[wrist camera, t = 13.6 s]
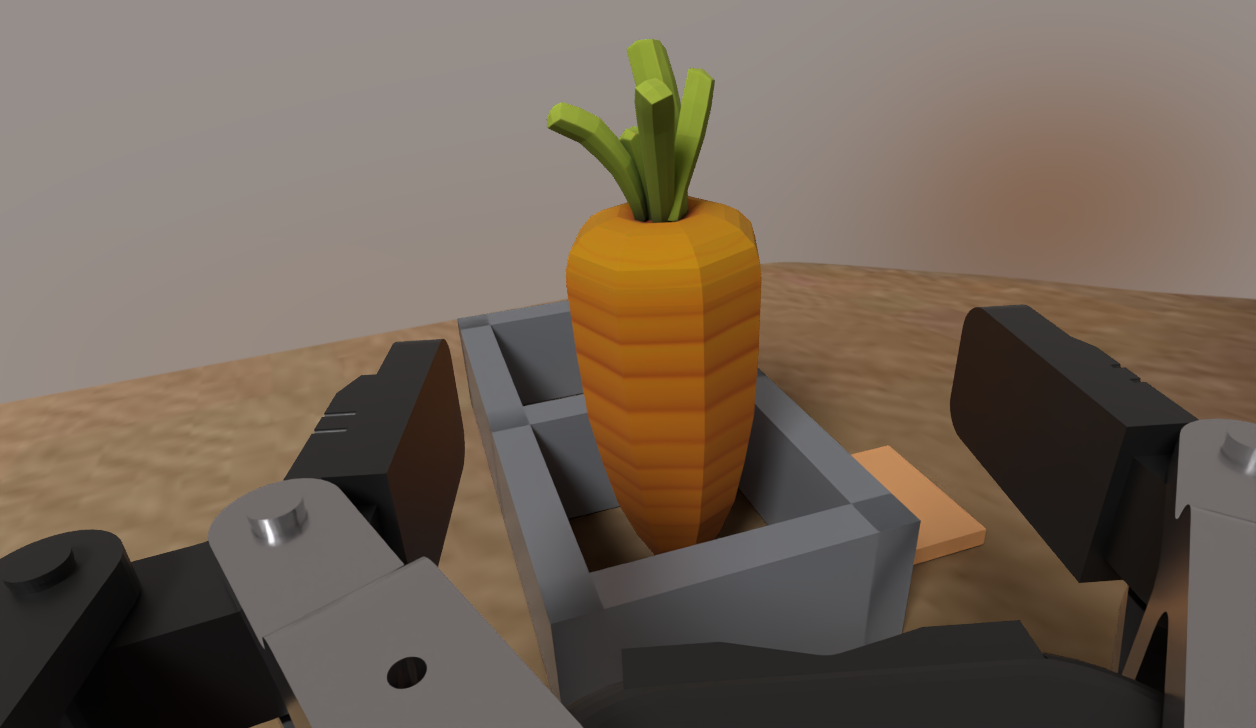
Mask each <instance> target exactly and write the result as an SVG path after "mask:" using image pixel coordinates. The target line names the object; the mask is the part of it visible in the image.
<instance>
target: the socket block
mask: <svg viewBox="0 0 1256 728" xmlns="http://www.w3.org/2000/svg"><path fill="white" fill-rule="evenodd" d="M457 321H458V327H459V333H460V339H461V345H462V351H463V357H464V362H465V368H466V374H467V380H468V386H469V392H470V398H471V403H472V407H473V410H474V414H475V417H476V421H477V425H478V428H479V432H480V435H481V439H482V443H483V446H484V450H485V453H486V457H487V461H488V464H489V468H490V471H491V475H492V479H493V482H494V486H495V489H496V493H497V497H498V500H499V504H500V507H501V511H502V515H503V518H504V522H505V525H506V529H507V533H508V536H509V540H510V543H511V547H512V551H513V554H514V558H515V561H516V565H517V568H518V572H519V576H520V579H521V583H522V586H523V590H524V594H525V597H526V601H527V604H528V608H529V612H530V615H531V619H532V622H533V626H534V630H535V633H536V637H537V640H538V644H539V648H540V651H541V655H542V658H543V662H544V666H545V669H546V673H547V676H548V680H549V684H550V687H551V691H552V694H553V695H554V696H555V697H556V698H557V699H558V700H559V701H560V702H561V704H562V705H563V706H564V707H565V706H567V705H568V704H570V703H572V702H573V701H575V700H577V699H579V698H580V697H582V696H584V695H587V694H589V693H591V692H594V691H596V690H598V689H600V688H603V687H605V686H608V685H611V684H614V683H617V682H620V681H623V669H622V650H621V649H625V648H639V647H653V646H667V645H681V644H695V643H709V642H726V643H733V644H741V645H748V646H756V647H763V648H771V649H778V650H785V651H793V652H800V653H808V654H815V655H834V654H839V653H842V652H845V651H849V650H852V649H855V648H858V647H861V646H865V645H868V644H871V643H874V642H877V641H880V640H884V639H887V638H890V637H893V636H896V635H900V634H902V629H903V623H904V618H905V612H906V606H907V600H908V594H909V588H910V582H911V576H912V570H913V565H915V564H918V563H921V562H925V561H928V560H931V559H935V558H938V557H942V556H945V555H948V554H952V553H955V552H958V551H962V550H965V549H969V548H972V547H975V546H979V545H982V544H983V543H984V539H985V534H986V530H987V529H986V528H985V527H984V526H982V525H981V524H980V523H979V522H978V521H976V520H975V519H974V518H973V517H972V516H971V515H969V514H968V513H967V512H966V511H965V510H964V509H962V508H961V507H960V506H959V505H958V504H957V503H955V502H954V501H953V500H952V499H951V498H950V497H948V496H947V495H946V494H945V493H944V492H943V491H941V490H940V489H939V488H938V487H937V486H935V485H934V484H933V483H932V482H931V481H930V480H928V479H927V478H926V477H925V476H924V475H923V474H921V473H920V472H919V471H918V470H917V469H916V468H914V467H913V466H912V465H911V464H910V463H909V462H907V461H906V460H905V459H904V458H903V457H901V456H900V455H899V454H898V453H897V452H896V451H894V450H893V449H892V448H891V447H890V446H889V445H888V446H884V447H880V448H876V449H872V450H868V451H864V452H860V453H856V454H852V455H850V454H849V453H848V452H847V451H846V450H845V449H844V448H843V447H842V446H841V445H840V444H839V443H837V442H836V441H835V440H834V439H833V438H832V437H831V436H830V435H829V434H828V433H827V432H826V431H825V430H824V429H823V428H822V427H820V426H819V425H818V424H817V423H816V422H815V421H814V420H813V419H812V418H811V417H810V416H809V415H808V414H807V413H806V412H804V411H803V410H802V409H801V408H800V407H799V406H798V405H797V404H796V403H795V402H794V401H793V400H792V399H791V398H790V397H788V396H787V395H786V394H785V393H784V392H783V391H782V390H781V389H780V388H779V387H778V386H777V385H776V384H775V383H774V382H772V381H771V380H770V379H769V378H768V377H767V376H766V375H765V374H764V373H763V372H762V371H761V370H760V369H759V368H758V367H757V381H756V395H755V408H754V418H753V423H752V428H751V432H750V437H749V442H748V447H747V452H746V457H745V462H744V466H743V470H742V474H741V478H740V481H739V485H738V487H739V488H740V490H741V491H742V492H743V494H744V495H745V496H746V498H747V499H748V500H749V501H750V503H751V504H752V505H753V507H754V508H755V509H756V511H757V512H758V513H759V514H760V516H761V517H762V518H763V520H764V521H765V522H766V524H767V525H768V526H765V527H761V528H757V529H753V530H750V531H746V532H742V533H738V534H734V535H731V536H727V537H723V538H719V539H716V540H712V541H708V542H704V543H700V544H697V545H693V546H689V547H685V548H682V549H678V550H674V551H670V552H667V553H663V554H659V555H655V556H651V557H648V558H644V559H640V560H636V561H633V562H629V563H625V564H621V565H617V566H614V567H610V568H606V569H602V570H599V571H595V572H591V573H589V571H588V568H587V566H586V563H585V561H584V558H583V556H582V553H581V551H580V548H579V546H578V543H577V541H576V538H575V536H574V533H573V531H572V528H571V526H570V523H569V521H568V519H569V518H573V517H577V516H582V515H586V514H590V513H594V512H598V511H602V510H606V509H610V508H614V507H618V506H620V505H619V503H618V502H617V499H616V496H615V494H614V491H613V488H612V486H611V483H610V481H609V478H608V475H607V473H606V470H605V467H604V465H603V462H602V459H601V456H600V453H599V449H598V446H597V443H596V440H595V437H594V434H593V431H592V428H591V424H590V421H589V418H588V413H587V408H586V402H585V397H584V394H582V395H577V396H572V397H567V398H562V399H557V400H552V401H547V402H542V403H537V404H532V405H527V406H522V405H526V404H531V403H536V402H541V401H546V400H551V399H556V398H561V397H566V396H571V395H576V394H581V393H584V392H583V386H582V381H581V375H580V370H579V364H578V359H577V353H576V347H575V340H574V333H573V327H572V320H571V313H570V307H569V300H567V301H561V302H555V303H549V304H543V305H537V306H531V307H525V308H520V309H514V310H508V311H502V312H496V313H490V314H484V315H478V316H472V317H466V318H460V319H457Z"/></svg>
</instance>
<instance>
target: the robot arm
mask: <svg viewBox="0 0 1256 728" xmlns="http://www.w3.org/2000/svg"><path fill="white" fill-rule="evenodd" d="M950 412H951V418H952V422H953V426H954V428H955V431H956V433H957V435H958V436H959V438H960V439H961V440H962V441H963V443H964V444H965V445H966V446H967V447H968V449H969V450H970V451H971V452H972V453H973V455H974V456H975V457H976V458H977V460H978V461H979V462H980V463H981V464H982V466H983V467H984V468H985V469H986V470H987V472H988V473H989V474H990V475H991V477H992V478H993V479H994V480H995V481H996V483H997V484H998V485H999V486H1000V487H1001V489H1002V490H1003V491H1004V492H1005V494H1006V495H1007V496H1008V497H1009V498H1010V500H1011V501H1012V502H1013V503H1014V504H1015V506H1016V507H1017V508H1018V509H1019V511H1020V512H1021V513H1022V514H1023V515H1024V517H1025V518H1026V519H1027V520H1028V521H1029V523H1030V524H1031V525H1032V526H1033V528H1034V529H1035V530H1036V531H1037V532H1038V534H1039V535H1040V536H1041V537H1042V538H1043V540H1044V541H1045V542H1046V543H1047V545H1048V546H1049V547H1050V548H1051V549H1052V551H1053V552H1054V553H1055V554H1056V555H1057V557H1058V558H1059V559H1060V560H1061V562H1062V563H1063V564H1064V565H1065V566H1066V568H1067V569H1068V570H1069V571H1070V572H1071V574H1072V575H1073V576H1074V577H1075V579H1076V580H1077V581H1078V582H1079V583H1083V582H1098V581H1112V580H1124V581H1125V582H1126V583H1127V584H1128V585H1127V588H1126V590H1125V593H1124V596H1123V599H1122V602H1121V605H1120V609H1119V616H1118V623H1117V631H1116V638H1115V645H1114V653H1113V660H1112V667H1111V670H1108V669H1106V668H1103V667H1099V666H1096V665H1093V664H1090V663H1086V662H1083V661H1080V660H1076V659H1072V658H1067V657H1063V656H1058V655H1054V654H1048V653H1041V651H1040V650H1039V648H1038V647H1037V645H1036V644H1035V642H1034V641H1033V639H1032V638H1031V636H1030V635H1029V633H1028V632H1027V631H1026V629H1025V628H1024V626H1023V625H1022V623H1021V622H1020V620H1017V621H1003V622H989V623H975V624H961V625H947V626H933V627H922V628H919V629H916V630H912V631H909V632H906V633H903V634H900V635H896V636H893V637H890V638H887V639H884V640H880V641H877V642H874V643H871V644H868V645H865V646H861V647H858V648H855V649H852V650H849V651H845V652H842V653H839V654H834V655H815V654H808V653H800V652H793V651H785V650H778V649H771V648H763V647H756V646H748V645H741V644H733V643H726V642H709V643H695V644H681V645H667V646H653V647H639V648H625V649H621V650H622V669H623V681H620V682H617V683H614V684H611V685H608V686H605V687H603V688H600V689H598V690H596V691H594V692H591V693H589V694H587V695H584V696H582V697H580V698H579V699H577V700H575V701H573V702H572V703H570V704H568V705H567V706H565V707H564V706H563V705H562V704H561V702H560V701H559V700H558V699H557V698H556V697H555V696H554V695H553V694H552V693H551V691H550V690H549V689H548V688H547V687H546V686H545V685H544V684H543V683H542V682H541V680H540V679H539V678H538V677H537V676H536V675H535V674H534V673H533V672H532V670H531V669H530V668H529V667H528V666H527V665H526V664H525V663H524V662H523V661H522V659H521V658H520V657H519V656H518V655H517V654H516V653H515V652H514V651H513V650H512V648H511V647H510V646H509V645H508V644H507V643H506V642H505V641H504V640H503V639H502V637H501V636H500V635H499V634H498V633H497V632H496V631H495V630H494V629H493V628H492V626H491V625H490V624H489V623H488V622H487V621H486V620H485V619H484V618H483V617H482V615H481V614H480V613H479V612H478V611H477V610H476V609H475V608H474V607H473V605H472V604H471V603H470V602H469V601H468V600H467V599H466V598H465V597H464V596H463V594H462V593H461V592H460V591H459V590H458V589H457V588H456V587H455V586H454V585H453V583H452V582H451V581H450V580H449V579H448V578H447V577H446V576H445V575H444V574H443V572H442V571H441V570H440V569H439V568H438V564H439V560H440V556H441V553H442V549H443V545H444V541H445V537H446V533H447V529H448V525H449V521H450V517H451V513H452V509H453V506H454V502H455V498H456V494H457V490H458V486H459V482H460V478H461V474H462V470H463V466H464V456H465V441H464V430H463V423H462V417H461V412H460V406H459V400H458V394H457V388H456V382H455V377H454V371H453V365H452V359H451V354H450V350H449V346H448V344H447V342H446V340H445V339H436V340H420V341H404V342H395V343H394V344H393V345H392V347H391V349H390V351H389V352H388V354H387V356H386V358H385V360H384V362H383V364H382V365H381V367H380V369H379V371H378V373H377V374H376V375H361V376H360V377H358V378H357V379H355V380H354V381H353V382H351V383H350V384H349V385H347V386H346V387H345V388H343V389H342V390H340V391H339V392H338V393H336V395H335V397H334V398H333V400H332V402H331V403H330V405H329V407H328V408H327V410H326V411H325V413H324V414H325V417H322V418H321V420H320V421H319V423H318V424H317V426H316V428H315V429H314V431H315V434H311V436H310V438H309V439H308V441H307V442H306V444H305V446H304V447H303V449H302V451H301V452H300V454H299V455H298V457H297V459H296V460H295V462H294V464H293V465H292V467H291V469H290V470H289V472H288V473H287V475H286V477H285V478H284V480H283V481H280V482H276V483H272V484H269V485H266V486H263V487H260V488H258V489H256V490H254V491H251V492H249V493H247V494H245V495H244V496H242V497H240V498H238V499H237V500H235V501H234V502H232V503H231V504H229V505H228V506H227V507H226V508H225V509H224V510H222V511H221V513H220V514H219V515H218V516H217V517H216V518H215V520H214V521H213V523H212V524H211V526H210V529H209V532H208V540H209V541H207V542H204V543H200V544H197V545H194V546H190V547H186V548H182V549H179V550H175V551H171V552H167V553H163V554H160V555H156V556H152V557H148V558H145V559H141V560H137V561H133V562H131V561H130V559H129V557H128V555H127V553H126V550H125V548H124V546H123V544H122V542H121V540H120V539H119V538H118V537H117V536H116V535H114V534H112V533H110V532H107V531H103V530H79V531H72V532H66V533H62V534H58V535H54V536H51V537H48V538H45V539H41V540H39V541H36V542H34V543H31V544H29V545H26V546H24V547H22V548H20V549H18V550H16V551H14V552H12V553H10V554H8V555H6V556H5V557H3V558H1V559H0V728H249V727H252V726H255V725H258V724H261V723H264V722H267V721H270V720H273V719H275V718H277V720H278V723H279V725H280V727H281V728H1256V424H1254V423H1250V422H1244V421H1238V420H1229V419H1204V420H1199V419H1197V418H1196V417H1194V416H1193V415H1191V414H1190V413H1189V412H1187V411H1186V410H1184V409H1183V408H1182V407H1180V406H1179V405H1177V404H1176V403H1175V402H1173V401H1172V400H1170V399H1169V398H1168V397H1166V396H1165V395H1163V394H1162V393H1160V392H1159V391H1158V390H1156V389H1155V388H1153V387H1152V386H1151V385H1149V384H1148V383H1146V382H1141V381H1140V378H1139V377H1138V376H1137V375H1135V374H1134V373H1132V372H1131V371H1129V370H1128V369H1127V368H1121V367H1120V363H1118V362H1117V361H1115V360H1114V359H1113V358H1111V357H1110V356H1108V355H1107V354H1106V353H1104V352H1103V351H1101V350H1100V349H1099V348H1097V347H1095V346H1093V345H1090V344H1088V343H1085V342H1083V341H1081V340H1078V339H1076V338H1073V337H1071V336H1069V335H1068V334H1067V333H1065V332H1064V331H1062V330H1061V329H1060V328H1058V327H1057V326H1056V325H1054V324H1053V323H1051V322H1050V321H1049V320H1047V319H1046V318H1045V317H1043V316H1042V315H1040V314H1039V313H1038V312H1036V311H1035V310H1034V309H1032V308H1031V307H1029V306H1027V305H1008V306H992V307H976V308H973V309H972V310H970V311H969V313H968V314H967V316H966V318H965V321H964V325H963V330H962V335H961V341H960V347H959V352H958V358H957V364H956V369H955V375H954V381H953V386H952V392H951V399H950Z"/></svg>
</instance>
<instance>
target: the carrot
mask: <svg viewBox="0 0 1256 728" xmlns="http://www.w3.org/2000/svg"><path fill="white" fill-rule="evenodd" d="M627 53H628V57H629V61H630V65H631V68H632V72H633V76H634V80H635V83H636V88H635V109H636V117H637V124H638V127H634V126H632V127H631V128H630V129H626V130H625V131H624V132H623V134H622V135H621V136H620V138H619V139H618V138H617V136H616V135H615V134H614V133H613V132H612V131H611V130H610V129H609V127H608V126H607V125H606V124H605V123H604V122H603V121H602V120H601V119H600V118H599V117H597V116H595V115H593V114H591V113H589V112H587V111H585V110H583V109H581V108H579V107H576V106H573V105H569V104H566V103H563V102H562V103H559V104H557V105H554V107H553V108H552V109H551V111H550V112H549V115H548V117H547V125H548V128H549V129H551V130H553V131H555V132H557V133H559V134H561V135H564V136H566V137H568V138H570V139H572V140H574V141H577V142H579V143H580V144H582V145H583V146H584V147H585V148H586V149H587V150H588V151H589V152H590V153H591V154H593V155H594V156H595V157H596V158H597V159H598V160H599V161H600V162H601V163H602V164H603V166H604V167H605V168H606V169H607V170H608V171H609V172H610V173H611V174H612V175H613V177H614V179H615V180H616V182H617V183H618V185H619V187H620V188H621V190H622V192H623V194H624V196H625V197H626V199H627V201H628V202H627V203H624V204H621V205H617V206H614V207H611V208H608V209H605V210H602V211H600V212H598V213H596V214H595V215H593V216H591V217H590V218H589V219H588V220H587V222H586V223H585V224H584V225H583V227H582V228H581V229H580V231H579V233H578V236H577V237H576V240H575V242H574V244H573V246H572V248H571V251H570V253H569V257H568V263H567V268H566V283H567V284H566V287H567V293H568V300H569V307H570V313H571V320H572V327H573V333H574V340H575V347H576V353H577V359H578V364H579V370H580V375H581V381H582V386H583V392H584V397H585V402H586V408H587V413H588V418H589V421H590V424H591V428H592V431H593V434H594V437H595V440H596V443H597V446H598V449H599V453H600V456H601V459H602V462H603V465H604V467H605V470H606V473H607V475H608V478H609V481H610V483H611V486H612V488H613V491H614V494H615V496H616V499H617V502H618V503H619V505H620V507H621V508H622V510H623V512H624V513H625V515H626V517H627V518H628V520H629V522H630V523H631V525H632V526H633V528H634V530H635V531H636V533H637V534H638V536H639V537H640V538H641V539H642V540H643V542H644V543H645V544H646V545H647V546H648V547H649V549H650V550H651V551H652V552H653V553H654V555H659V554H663V553H667V552H670V551H674V550H678V549H682V548H685V547H689V546H693V545H697V544H700V543H704V542H708V541H712V540H715V539H716V537H717V536H718V535H719V532H720V530H721V528H722V526H723V524H724V522H725V520H726V518H727V516H728V514H729V512H730V510H731V508H732V505H733V503H734V501H735V497H736V493H737V489H738V485H739V481H740V478H741V474H742V470H743V466H744V462H745V457H746V452H747V447H748V442H749V437H750V432H751V428H752V423H753V418H754V408H755V395H756V381H757V367H758V353H759V329H760V303H761V269H760V261H759V255H758V250H757V245H756V240H755V235H754V231H753V228H752V224H751V222H750V221H749V220H748V219H747V218H746V217H745V216H744V215H743V214H742V213H741V212H739V211H738V210H736V209H734V208H731V207H729V206H727V205H724V204H720V203H716V202H712V201H707V200H703V199H699V198H694V197H690V196H688V194H687V193H688V192H687V190H688V187H689V184H690V181H691V178H692V175H693V172H694V168H695V165H696V162H697V159H698V156H699V153H700V150H701V147H702V144H703V140H704V137H705V132H706V128H707V124H708V118H709V115H710V110H711V105H712V98H713V90H714V82H715V80H714V79H713V78H712V77H711V76H710V75H709V74H707V72H705V70H703V69H694V68H689V70H688V74H687V79H686V84H685V89H684V93H683V98H682V104H681V103H680V98H679V95H678V90H677V85H676V81H675V77H674V74H673V71H672V68H671V64H670V61H669V58H668V55H667V51H666V49H665V47H664V46H663V45H662V43H661V42H660V41H659V40H654V39H647V40H637V41H636V42H635V43H633V44H632V45H631V46H630V47H628V48H627Z"/></svg>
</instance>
